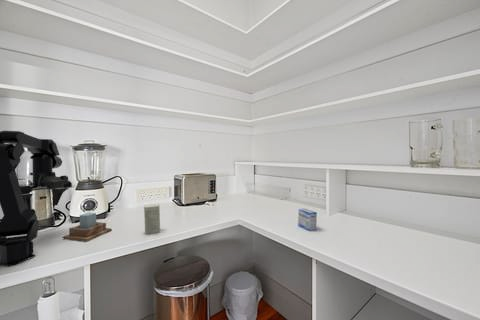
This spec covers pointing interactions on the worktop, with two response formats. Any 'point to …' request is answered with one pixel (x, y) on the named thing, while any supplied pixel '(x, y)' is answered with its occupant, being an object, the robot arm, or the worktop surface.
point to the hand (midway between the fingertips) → (43, 208)
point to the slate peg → (87, 220)
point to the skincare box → (152, 218)
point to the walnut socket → (87, 232)
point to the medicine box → (307, 219)
